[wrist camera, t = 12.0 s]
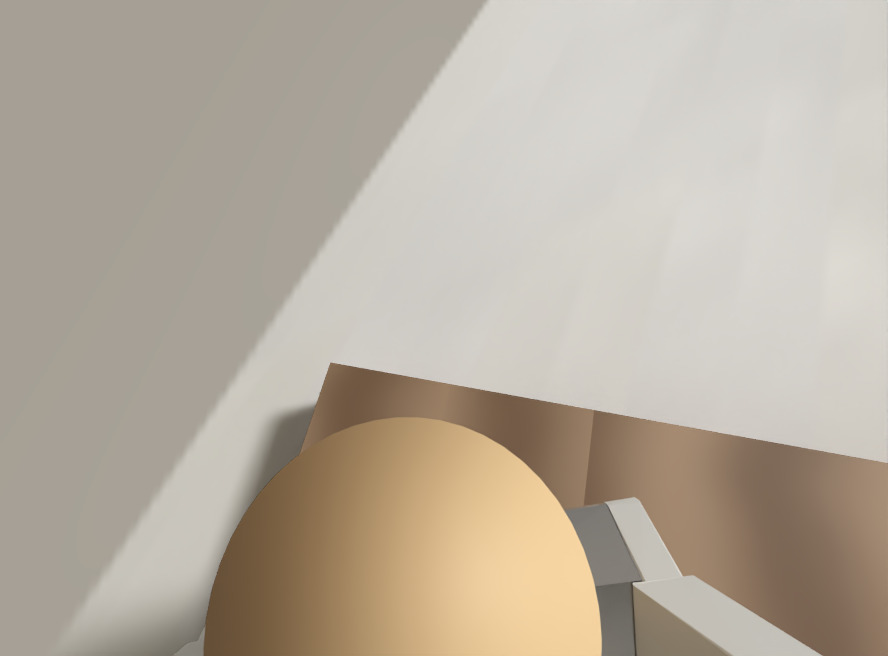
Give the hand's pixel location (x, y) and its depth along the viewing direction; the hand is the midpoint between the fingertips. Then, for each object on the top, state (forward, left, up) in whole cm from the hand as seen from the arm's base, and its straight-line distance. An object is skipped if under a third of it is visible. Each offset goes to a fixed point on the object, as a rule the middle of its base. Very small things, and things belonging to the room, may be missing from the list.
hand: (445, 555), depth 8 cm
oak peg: (0, 0, -6) cm, 6 cm away
